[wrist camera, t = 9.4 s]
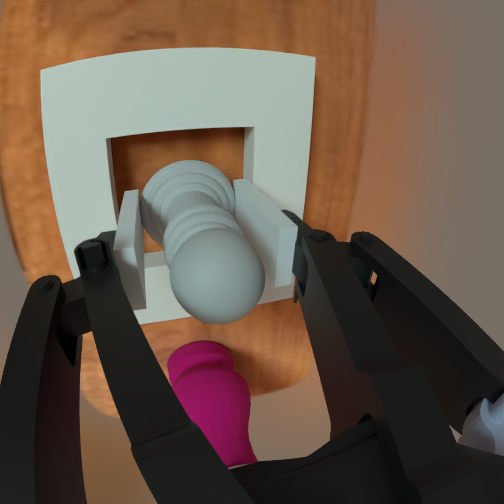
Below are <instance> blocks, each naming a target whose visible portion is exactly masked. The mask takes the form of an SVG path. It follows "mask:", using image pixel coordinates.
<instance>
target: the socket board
mask: <svg viewBox="0 0 504 504" xmlns="http://www.w3.org/2000/svg"><path fill="white" fill-rule="evenodd" d="M314 77H315V57H310V56H304V55H297V54H290V53H282V52H274V51H264V50H252V49H236V48H172V49H156V50H145V51H135V52H127V53H119V54H112V55H106V56H100V57H94V58H89V59H84V60H79V61H75V62H70V63H66V64H62V65H58V66H54V67H50V68H46V69H43V70H41V107H42V123H43V134H44V144H45V152H46V160H47V167H48V173H49V180H50V185H51V191H52V196H53V201H54V206H55V211H56V215H57V220H58V224H59V228H60V232H61V236H62V240H63V243H64V247H65V251H66V254H67V258H68V261H69V264H70V268H71V271H72V274H73V277H74V279H76V278H78V277H79V276H80V272H79V268H78V265H77V261H76V258H75V254H74V249H75V247H76V246H77V245H78V244H80V243H81V242H83V241H85V240H88V239H92V238H96V237H97V236H98V235H99V234H100V233H101V232H106V231H113V230H117V225H118V220H119V208H118V201H117V194H116V186H115V178H114V169H113V159H112V148H111V138H112V137H119V136H126V135H134V134H142V133H151V132H160V131H171V130H183V129H199V128H219V127H245V130H244V169H243V179H247V180H248V181H249V182H250V183H252V184H253V185H254V186H255V187H256V188H257V189H258V190H259V191H260V192H261V193H262V194H264V195H265V196H266V197H267V198H268V199H269V200H270V201H271V202H272V203H273V204H274V205H275V206H277V207H278V208H279V209H280V210H285V209H286V210H288V211H290V212H293V213H294V214H296V215H297V216H298V217H299V218H300V219H301V220H302V221H303V212H304V203H305V193H306V183H307V173H308V162H309V150H310V138H311V125H312V111H313V95H314ZM144 266H145V290H146V307H147V309H142V310H135V311H134V314H135V316H136V318H137V320H138V322H139V324H145V323H152V322H159V321H166V320H172V319H179V318H185V317H191V315H190V314H189V313H187V312H186V311H185V310H184V309H183V308H182V306H181V305H180V304H179V302H178V301H177V299H176V297H175V295H174V293H173V291H172V288H171V283H170V270H169V268H168V266H167V264H166V261H165V256H164V251H156V252H149V253H144ZM294 285H295V275H294V274H293V273H292V281H291V285H287V286H281V287H276V288H274V286H273V285H272V283H271V281H270V280H269V278H268V277H267V275H266V274H265V287H264V291H263V294H262V296H261V298H260V300H259V302H258V303H257V305H258V304H263V303H268V302H273V301H278V300H283V299H288V298H293V292H294Z"/></svg>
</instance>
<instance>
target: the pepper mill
mask: <svg viewBox="0 0 504 504" xmlns="http://www.w3.org/2000/svg"><path fill="white" fill-rule="evenodd" d="M167 367H168V373H169V379H170V382H171V384H172V386H171V387H172V389H173V391H174V392H175V394H176V396H177V398H178V399H179V401H180V403H181V405H182V406H183V408H184V410H185V411H186V413H187V415H188V416H189V418H190V419H191V420H192V422H194V423H196V424H197V425H198V426H199V427H200V429H201V430H202V432H203V433H204V434H205V436H206V437H207V439H208V440H209V442H210V443H211V445H212V446H213V448H214V449H215V451H216V452H217V453H218V455H219V456H220V458H221V459H222V461H223V462H224V463H225V465H226V466H227V467H228V469H232V468H236V467H240V466H244V465H248V464H252V463H255V462H258V460H257V458H256V456H255V455H254V453H253V450H252V447H251V443H250V441H249V434H248V422H249V416H250V407H251V406H250V405H251V402H250V393H249V389H248V386H247V383H246V381H245V379H244V378H243V377H242V376H241V375H240V374H239V373H238V372H236V371H235V370H234V365H233V362H232V359H231V357H230V354H229V352H228V350H227V349H226V348H225V347H224V346H222V345H220V344H218V343H215V342H211V341H198V342H192V343H189V344H186V345H184V346H181V347H180V348H179V349H177V350H176V351H174V353H173V354H172V355H171V356H170V358H169V360H168V364H167Z"/></svg>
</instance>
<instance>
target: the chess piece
mask: <svg viewBox="0 0 504 504" xmlns="http://www.w3.org/2000/svg"><path fill="white" fill-rule="evenodd" d="M234 212H235V195H234V191H233V188H232V185H231V183H230V182H229V180H228V178H227V177H226V176H225V175H224V174H223V173H222V172H221V171H220V170H219V169H218V168H216V167H215V166H213V165H211V164H209V163H206V162H202V161H197V160H183V161H178V162H175V163H172V164H169V165H167V166H165V167H164V168H162V169H161V170H159V171H158V172H157V173H156V174H155V175H153V177H152V178H151V179H150V180H149V181H148V183H147V184H146V186H145V188H144V190H143V193H142V196H141V200H140V213H141V220H142V224H143V226H144V228H145V230H146V231H147V233H148V234H149V235H150V237H151V238H152V239H153V240H154V241H155V242H157V243H158V244H159V245H161V246H163V249H164V256H165V261H166V264H167V266H168V268H169V270H170V283H171V288H172V291H173V293H174V295H175V297H176V299H177V301H178V302H179V304H180V305H181V306H182V308H183V309H184V310H185V311H186V312H187V313H189V314H190V315H191V316H193V317H194V318H196V319H198V320H200V321H202V322H205V323H209V324H226V323H231V322H234V321H236V320H238V319H240V318H242V317H244V316H245V315H247V314H248V313H249V312H250V311H251V310H252V309H253V308H254V307H255V306H256V305H257V303H258V302H259V300H260V298H261V296H262V294H263V291H264V287H265V269H264V265H263V262H262V260H261V257H260V255H259V254H258V252H257V250H256V249H255V248H254V246H253V245H252V244H251V243H250V242H249V241H248V240H247V239H246V238H245V236H244V233H243V231H242V229H241V227H240V226H239V225H238V224H237V222H236V220H235V219H234V217H233V216H234Z"/></svg>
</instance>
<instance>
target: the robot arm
mask: <svg viewBox="0 0 504 504" xmlns="http://www.w3.org/2000/svg"><path fill="white" fill-rule="evenodd" d="M233 191H234V195H235V212H234V216H233V217H234V219H235V220H236V222H237V224H238V225H239V226H240V227H241V229H242V231H243V233H244V236H245V238H246V239H247V240H248V241H249V242H250V243H251V244H252V245H253V246H254V248H255V249H256V250H257V252H258V254H259V255H260V257H261V260H262V262H263V265H264V269H265V274H266V275H267V277H268V278H269V280H270V281H271V283H272V285H273V286H274V288H276V287H281V286H287V285H291V281H292V273H293V274H294V275H295V277H296V278H297V283H296V290H295V296H294V303H296V302H297V299H298V298H299V302H300V305H301V309H302V312H303V316H304V320H305V323H306V327H307V331H308V334H309V338H310V342H311V346H312V350H313V353H314V357H315V361H316V365H317V369H318V372H319V376H320V380H321V384H322V388H323V392H324V396H325V400H326V404H327V408H328V413H329V417H330V422H331V432H330V441H329V442H327V443H326V444H325V445H323V446H322V447H321V448H319V449H318V450H316V451H315V452H313V453H312V454H311V455H309V456H307V457H302V458H294V459H284V460H272V461H259V462H255V463H252V464H248V465H244V466H240V467H236V468H232V469H228V467H227V466H226V465H225V463H224V462H223V461H222V459H221V458H220V456H219V455H218V453H217V452H216V451H215V449H214V448H213V446H212V445H211V443H210V442H209V440H208V439H207V437H206V436H205V434H204V433H203V432H202V430H201V429H200V427H199V426H198V425H197V424H196V423H194V422H192V420H191V419H190V418H189V416H188V415H187V413H186V411H185V410H184V408H183V406H182V405H181V403H180V401H179V399H178V398H177V396H176V394H175V392H174V391H173V389H172V387H171V385H170V384H169V382H168V380H167V378H166V376H165V374H164V373H163V371H162V369H161V367H160V365H159V363H158V361H157V359H156V357H155V355H154V353H153V351H152V349H151V347H150V345H149V343H148V341H147V339H146V337H145V335H144V333H143V331H142V329H141V327H140V325H139V322H138V320H137V318H136V316H135V314H134V311H135V310H142V309H147V307H146V290H145V266H144V231H143V224H142V220H141V213H140V201H139V192H138V189H137V190H130V191H125V192H124V197H123V201H122V206H121V210H120V215H119V220H118V225H117V230H113V231H106V232H101V233H100V234H99V235H98V236H97V237H96V238H92V239H88V240H85V241H83V242H81V243H80V244H78V245H77V246H76V247H75V249H74V254H75V258H76V261H77V265H78V268H79V272H80V276H79V277H78V278H76V279H74V280H71V281H68V282H66V283H63V284H62V282H61V279H60V278H59V277H58V276H55V275H48V276H43V277H41V278H39V279H37V280H36V281H35V282H34V283H33V284H32V285H31V287H30V289H29V291H28V294H27V297H26V299H25V302H24V305H23V307H22V310H21V313H20V316H19V319H18V322H17V325H16V328H15V331H14V334H13V338H12V341H11V344H10V348H9V351H8V355H7V359H6V363H5V367H4V371H3V375H2V380H1V384H0V504H87V501H86V495H85V488H84V479H83V470H82V459H81V445H80V419H79V418H80V417H79V395H80V368H81V352H82V340H83V336H82V334H85V333H88V332H90V331H92V332H93V336H94V340H95V344H96V347H97V351H98V354H99V358H100V361H101V364H102V368H103V371H104V374H105V377H106V380H107V383H108V386H109V389H110V392H111V394H112V397H113V400H114V403H115V405H116V408H117V411H118V413H119V416H120V418H121V420H122V423H123V425H124V428H125V430H126V433H127V435H128V437H129V440H130V442H131V451H132V454H133V457H134V459H135V461H136V463H137V465H138V468H139V470H140V471H141V473H142V476H143V478H144V479H145V481H146V483H147V485H148V487H149V489H150V491H151V493H152V494H153V496H154V498H155V500H156V501H157V503H158V504H504V351H503V350H502V349H501V348H500V347H499V346H498V345H497V344H496V343H495V342H494V341H493V340H492V339H491V338H490V337H489V336H488V335H487V334H486V333H485V332H484V331H483V330H482V329H481V328H480V327H479V326H478V325H477V324H476V323H475V322H474V321H473V320H472V319H471V318H470V317H469V316H468V315H467V314H466V313H465V312H464V311H463V310H462V309H461V308H460V307H459V306H457V305H456V304H455V303H454V302H453V301H452V300H451V299H450V298H449V297H448V296H447V295H446V294H444V293H443V292H442V291H441V290H440V289H439V288H438V287H436V285H434V284H433V283H432V282H431V281H430V280H429V279H428V278H426V277H425V276H424V275H423V274H422V273H421V272H419V271H418V270H417V269H416V268H415V267H414V266H412V265H411V264H410V263H409V262H408V261H406V260H405V259H404V258H403V257H402V256H400V255H399V254H398V253H397V252H395V251H394V250H393V249H392V248H390V247H389V246H388V245H387V244H385V243H384V242H383V241H382V240H380V239H379V238H378V237H376V236H375V235H373V234H370V233H369V232H363V231H362V232H355V233H353V234H352V236H351V240H350V242H337V241H336V240H335V238H334V236H333V235H332V234H330V233H328V232H326V231H322V230H316V229H314V230H312V229H311V228H310V227H309V226H308V225H307V224H306V223H305V222H303V221H302V220H301V219H300V218H299V217H298V216H297V215H296V214H294V213H293V212H290V211H288V210H286V209H285V210H280V209H279V208H278V207H277V206H275V205H274V204H273V203H272V202H271V201H270V200H269V199H268V198H267V197H266V196H265V195H264V194H262V193H261V192H260V191H259V190H258V189H257V188H256V187H255V186H254V185H253V184H252V183H250V182H249V181H248V180H247V179H235V180H233ZM373 271H374V272H375V273H376V274H377V279H376V282H375V284H372V283H371V282H370V281H371V277H372V274H373ZM449 425H450V426H451V427H452V428H454V429H455V430H456V431H457V432H458V433H460V434H461V435H462V436H461V437H460V438H459V439H458V443H456V440H455V438H454V436H453V433H452V431H451V428H450V426H449Z"/></svg>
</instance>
